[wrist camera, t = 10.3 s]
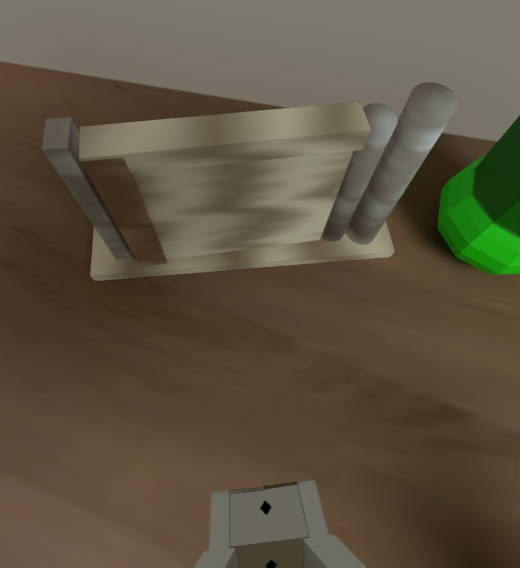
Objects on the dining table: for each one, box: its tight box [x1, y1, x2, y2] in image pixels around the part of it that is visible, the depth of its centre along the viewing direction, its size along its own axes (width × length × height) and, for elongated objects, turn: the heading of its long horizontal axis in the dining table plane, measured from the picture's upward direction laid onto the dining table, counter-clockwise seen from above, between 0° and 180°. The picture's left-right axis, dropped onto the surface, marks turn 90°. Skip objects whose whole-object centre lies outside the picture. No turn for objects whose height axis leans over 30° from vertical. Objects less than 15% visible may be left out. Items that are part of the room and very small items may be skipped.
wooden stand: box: [42, 83, 458, 281], centre depth 25 cm, size 24×8×14 cm, turn 96°
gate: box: [79, 102, 398, 267], centre depth 24 cm, size 16×2×12 cm, turn 100°
